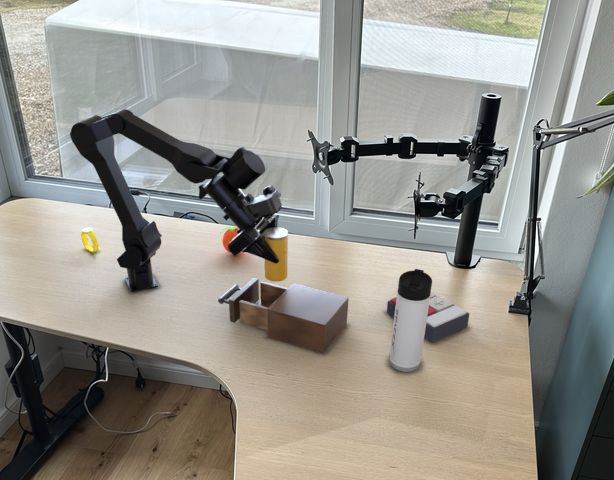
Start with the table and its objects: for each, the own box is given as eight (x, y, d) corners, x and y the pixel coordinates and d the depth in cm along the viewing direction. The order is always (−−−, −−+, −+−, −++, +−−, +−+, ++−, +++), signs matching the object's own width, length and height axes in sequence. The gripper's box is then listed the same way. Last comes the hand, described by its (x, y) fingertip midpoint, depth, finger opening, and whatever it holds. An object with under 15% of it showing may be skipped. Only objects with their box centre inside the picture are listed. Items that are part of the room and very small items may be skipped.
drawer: (213, 317, 145) (212, 295, 142) (239, 294, 153) (238, 273, 150) (279, 336, 139) (279, 314, 136) (302, 311, 148) (302, 290, 144)
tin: (260, 273, 145) (259, 230, 139) (280, 268, 148) (280, 225, 142) (271, 284, 142) (271, 239, 136) (292, 278, 144) (292, 234, 138)
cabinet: (267, 337, 140) (267, 309, 136) (293, 310, 149) (293, 283, 145) (323, 354, 136) (325, 325, 132) (346, 325, 145) (348, 297, 141)
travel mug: (422, 357, 136) (436, 271, 124) (416, 375, 131) (429, 288, 119) (393, 350, 137) (403, 265, 126) (385, 368, 132) (395, 281, 121)
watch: (102, 252, 170) (98, 231, 167) (93, 256, 169) (89, 235, 165) (90, 245, 174) (86, 224, 170) (80, 248, 172) (76, 227, 168)
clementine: (215, 256, 170) (213, 231, 166) (225, 244, 175) (224, 220, 171) (243, 261, 168) (243, 235, 164) (253, 249, 174) (252, 224, 169)
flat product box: (422, 284, 153) (470, 310, 143) (420, 300, 155) (468, 327, 145) (386, 298, 147) (434, 326, 137) (385, 314, 150) (432, 343, 140)
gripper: (240, 195, 126) (294, 256, 130) (272, 163, 140) (320, 219, 144) (205, 227, 132) (257, 284, 136) (239, 193, 147) (286, 246, 151)
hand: (282, 256), depth 142 cm, fingers closed on tin, 5 cm apart
